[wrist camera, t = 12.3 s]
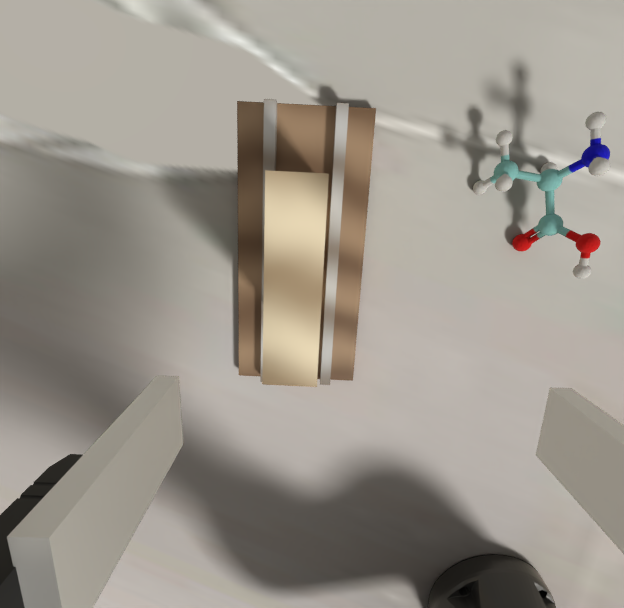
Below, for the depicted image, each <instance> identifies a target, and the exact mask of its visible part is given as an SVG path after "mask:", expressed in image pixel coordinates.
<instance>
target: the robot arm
mask: <svg viewBox="0 0 624 608" xmlns="http://www.w3.org/2000/svg"><path fill="white" fill-rule="evenodd" d="M182 446H183V432H182V417H181V402H180V387H179V376H156V377H155V378H154V380H153V381H152V382H151V383H150V384H149V385H148V386H147V387H146V388H145V389H144V390H143V391H142V392H141V393H140V395H139V396H138V397H137V398H136V399H135V400H134V401H133V402H132V403H131V404H130V405H129V406H128V407H127V409H126V410H125V411H124V412H123V413H122V414H121V415H120V416H119V417H118V418H117V419H116V420H115V421H114V422H113V424H112V425H111V426H110V427H109V428H108V429H107V430H106V431H105V432H104V433H103V434H102V435H101V436H100V437H99V439H98V440H97V441H96V442H95V443H94V444H93V445H92V446H91V447H90V448H89V449H88V450H87V451H86V452H85V454H84V455H76V454H70V455H68V456H67V457H65V458H63V459H62V460H60V461H58V462H57V463H55V464H53V465H52V466H50V467H49V468H48V469H47V470H46V471H45V472H44V473H43V474H42V475H41V476H40V477H39V478H38V479H37V480H36V481H35V482H34V484H33V485H30V486H29V487H28V488H27V489H26V490H25V491H24V492H23V493H22V494H21V497H20V498H19V499H18V498H17V499H16V500H15V501H14V502H13V503H12V504H11V505H10V506H9V507H8V508H7V509H6V510H5V511H4V512H3V513H2V514H1V515H0V608H93V607H94V605H95V603H96V601H97V599H98V598H99V596H100V594H101V592H102V590H103V589H104V587H105V585H106V583H107V581H108V580H109V578H110V576H111V574H112V572H113V570H114V569H115V567H116V565H117V563H118V561H119V560H120V558H121V556H122V554H123V552H124V551H125V549H126V547H127V545H128V543H129V542H130V540H131V538H132V536H133V534H134V533H135V531H136V529H137V527H138V525H139V523H140V522H141V520H142V518H143V516H144V514H145V513H146V511H147V509H148V507H149V505H150V504H151V502H152V500H153V498H154V496H155V495H156V493H157V491H158V489H159V487H160V486H161V484H162V482H163V480H164V478H165V477H166V475H167V473H168V471H169V469H170V467H171V466H172V464H173V462H174V460H175V458H176V457H177V455H178V453H179V451H180V449H181V448H182ZM536 456H537V457H538V458H539V459H540V460H541V462H542V463H543V464H544V465H545V466H546V467H547V468H548V469H549V471H550V472H551V473H552V474H553V475H554V476H555V477H556V478H557V480H558V481H559V482H560V483H561V484H562V485H563V486H564V487H565V489H566V490H567V491H568V492H569V493H570V494H571V495H572V496H573V498H574V499H575V500H576V501H577V502H578V503H579V504H580V505H581V507H582V508H583V509H584V510H585V511H586V512H587V513H588V514H589V516H590V517H591V518H592V519H593V520H594V521H595V522H596V523H597V525H598V526H599V527H600V528H601V529H602V530H603V531H604V532H605V534H606V535H607V536H608V537H609V538H610V539H611V540H612V541H613V543H614V544H615V545H616V546H617V547H618V548H619V549H620V550H621V552H622V553H623V554H624V425H623V424H621V423H620V422H618V421H617V420H616V419H614V418H613V417H611V416H610V415H609V414H607V413H606V412H604V411H603V410H601V409H600V408H599V407H597V406H596V405H594V404H593V403H592V402H590V401H589V400H587V399H586V398H585V397H583V396H582V395H580V394H579V393H577V392H576V391H575V390H573V389H572V388H550V390H549V394H548V399H547V404H546V409H545V413H544V418H543V423H542V428H541V432H540V437H539V442H538V447H537V451H536ZM429 608H556V606H555V602H554V599H553V597H552V595H551V593H550V591H549V589H548V588H547V586H546V584H545V583H544V581H543V579H542V578H541V576H540V574H539V573H538V572H537V571H536V570H535V569H534V568H533V567H532V566H530V565H529V564H527V563H526V562H524V561H522V560H519V559H516V558H513V557H509V556H503V555H485V556H479V557H474V558H471V559H468V560H465V561H462V562H460V563H458V564H456V565H454V566H453V567H451V568H450V569H448V570H447V571H446V572H445V573H444V574H442V575H441V576H440V578H439V579H438V580H437V581H436V583H435V584H434V586H433V588H432V590H431V593H430V596H429Z"/></svg>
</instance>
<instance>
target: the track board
mask: <svg viewBox="0 0 624 608" xmlns="http://www.w3.org/2000/svg"><path fill="white" fill-rule="evenodd" d="M375 113H376V108H358V107H349V103H337V105H336V106H320V105H300V104H281V103H277V101H276V100H270V99H264V103H262V102H242V101H237V119H238V120H237V121H238V122H237V123H238V311H239V375H244V376H261V382H262V375H263V300H264V225H265V170H267V171H287V172H307V173H327V174H329V180H328V198H327V215H326V233H325V250H324V268H323V285H322V303H321V320H320V338H319V356H318V373H317V379H320V384H322V385H330V379H331V380H353V371H354V360H355V348H356V336H357V324H358V313H359V301H360V289H361V278H362V266H363V254H364V242H365V231H366V219H367V207H368V196H369V184H370V172H371V160H372V149H373V137H374V125H375Z"/></svg>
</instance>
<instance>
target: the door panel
mask: <svg viewBox="0 0 624 608" xmlns="http://www.w3.org/2000/svg"><path fill="white" fill-rule="evenodd" d="M328 180H329V174H327V173H307V172H287V171H267V170H265V225H264V300H263V375H262V384H266V385H288V386H310V387H317V373H318V356H319V338H320V320H321V303H322V285H323V268H324V250H325V233H326V215H327V198H328Z"/></svg>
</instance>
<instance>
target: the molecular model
mask: <svg viewBox="0 0 624 608" xmlns="http://www.w3.org/2000/svg"><path fill="white" fill-rule="evenodd" d="M605 122H606V116H605V114H604V113H602V112H595V113H592V114H591V115H590V116H589V117H588V118H587V119H586V122H585V124H586V127H587V128H588V129H589V130H591V140H590V147H588V148H587V149H586V150H585V151H584V153H583V154H582V159H581V160H579V161H577V162H575V163H573V164H571V165H569V166H568V167H566V168H564V169H562V170H560V171H558V170H557V166H556V164H554V163H551V162H549V163H546V164H544V165H543V166H542V168H541V174H535V173H530V172H524V171H519V170H518V166H517V165H516V163H514V162H513V161H509V144H510V143H511V141H512V138H513V135H512V133H511V132H510V131H507V130H504V131H501V132H500V133H499V134H498V135H497V137H496V143H497V144H498V145H499V146H500V147H501V163H499V164H498V165H497V166H496V168H495V170H494V176H492V177H490V178H489V179H487V180H485V181H477V182H476V183H475V184H474V186H473V191H474V193H476V194H478V195H481V194H484V193H485V192H486V191H487V189H488V187H489V186H490V185H492V184H494V183H495V187H496V189H497V190H499V191H501V192H504V191H507V190H509V189H510V188H511V186H512V183H513V180H514V179H515V178H518V179H524V180H529V181H534V182H537V186H538V188H539V189H541V190H542V191H545V198H546V215H545V216H544V217H542V218H541V219H540V221H539V223H538V225H537V226H536V227H534V228H533V229H531V230H530V231H528V232H527V233H525V234H520V235H517V236H516V237H515V238H514V239H513V243H512V245H513V247H514V249H516V250H517V251H525V250H527V249H529V248H530V246H531V244H532V243H533V242H535V241H537V240H538V239H540V238H541V237H543V236H545V235H548V236H550V235H555V234H557V233H559V234H561V235H563V236H565V237H567V238H569V239H571V240H573V241H575V242H576V247H577V249H578V250H579V251H580V252H581V257H580V261H579V265H577V266H575V268H574V270H573V274H574V275H575V276H576V277H577V278H586V277H588V276H589V275H590V274H591V268H590V266H588V263H589V258H590V253H591V252H594V251H595V250H597V249H598V247H599V246H600V239H599V237H598V236H597V235H595V234H592V233H587V234H583V235H580V234H577V233H575V232H573V231H571V230H569V229H567V228H565V227H563V220H562V218H561V217H560V216H558V215H556V214H554V190H555V189H557V188H558V187H559V186H560V184H561V183H562V178H563V177H565V176H567V175H569V174H571V173H573V172H575V171H576V170H578V169H580V168H582V167H584V166H586V167H589V172H590V173H591V174H592V175H594V176H601V175H603V174H605V173H606V172H607V171H608V170H609V168H610V162H609V160H608V159H609V156H610V151H609V149H608V147H607V146H605V145H602V144H601V127H602V126H603V125H604V124H605ZM538 231H540V232H539V233H537V232H538ZM535 233H537V234H536V235H534V234H535ZM532 235H534V236H533V237H531V238H530V236H532Z"/></svg>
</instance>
